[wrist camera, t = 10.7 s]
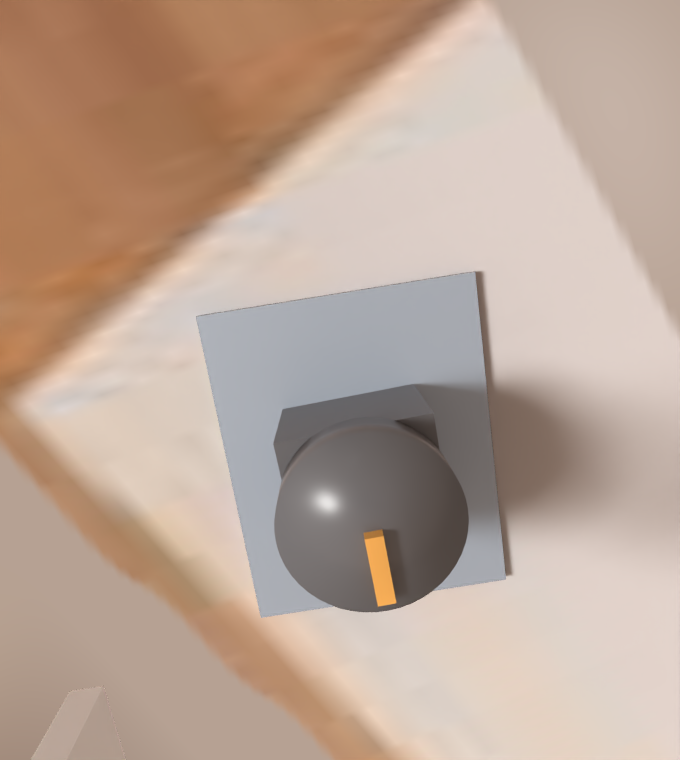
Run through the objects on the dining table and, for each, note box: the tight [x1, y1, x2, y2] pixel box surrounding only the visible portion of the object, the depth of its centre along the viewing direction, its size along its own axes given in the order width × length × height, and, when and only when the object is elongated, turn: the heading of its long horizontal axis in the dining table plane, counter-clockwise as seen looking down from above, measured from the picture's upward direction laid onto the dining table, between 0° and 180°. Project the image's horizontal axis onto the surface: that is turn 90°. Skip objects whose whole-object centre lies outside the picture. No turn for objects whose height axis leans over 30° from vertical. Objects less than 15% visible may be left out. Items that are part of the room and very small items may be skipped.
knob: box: [273, 384, 469, 612], centre depth 24 cm, size 7×7×8 cm
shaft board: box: [196, 272, 506, 618], centre depth 25 cm, size 16×13×5 cm
